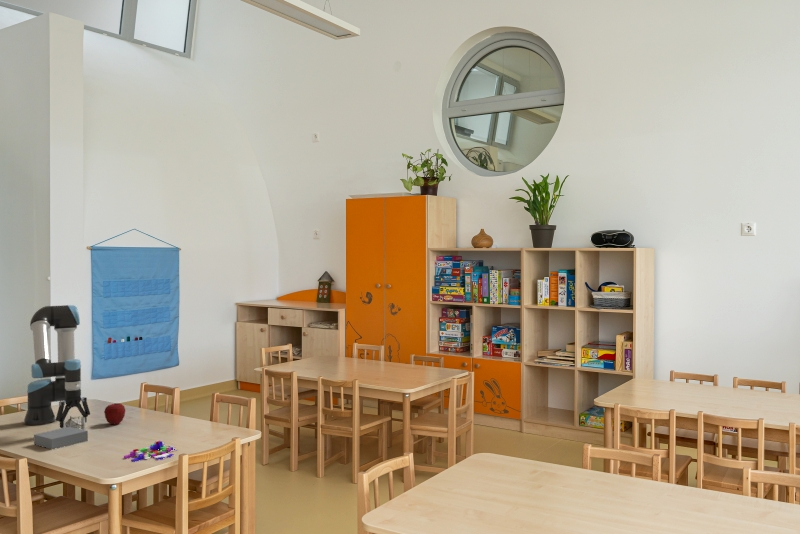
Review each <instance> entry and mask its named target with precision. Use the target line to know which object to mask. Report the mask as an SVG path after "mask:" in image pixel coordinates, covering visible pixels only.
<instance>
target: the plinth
mask: <svg viewBox="0 0 800 534" xmlns="http://www.w3.org/2000/svg"><path fill="white" fill-rule="evenodd" d="M88 435H89V433H88V430H86V429H85V430H83V429H81V428H79V429H78V428H73V427H66V426H65V428H58V429H53V430H49V431H45V432H39V433H35V434H33V445H34V444H36V445H35V446H37V445H40V446H43V447H42V448H44V447H46V448H45V449H48V448H49V449H48V450H51V449H53V450H56V449H55V448H57V449H60V447H61V448H64V446H65V447H68V446H71V445H77V444H80V443H85V442H88V440H89V436H88ZM40 446H39V447H40Z"/></svg>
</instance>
